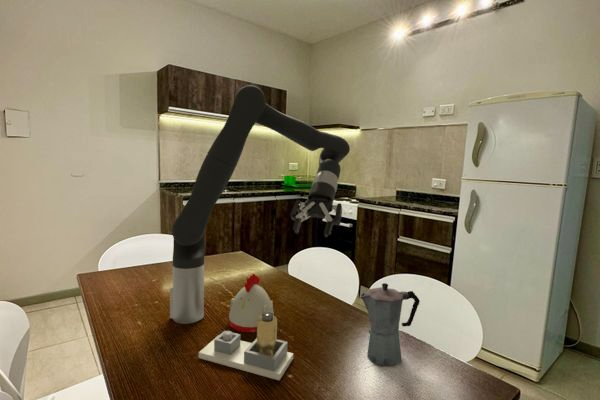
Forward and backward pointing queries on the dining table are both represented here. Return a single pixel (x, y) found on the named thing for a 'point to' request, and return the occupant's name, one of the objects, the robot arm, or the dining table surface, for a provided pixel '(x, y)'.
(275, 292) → the dining table surface
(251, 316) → the kitchen timer
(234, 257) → the dining table surface
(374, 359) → the moka pot
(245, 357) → the white tray
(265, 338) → the gold bottle
